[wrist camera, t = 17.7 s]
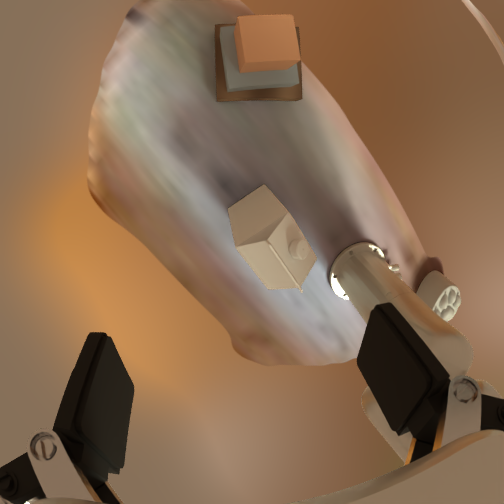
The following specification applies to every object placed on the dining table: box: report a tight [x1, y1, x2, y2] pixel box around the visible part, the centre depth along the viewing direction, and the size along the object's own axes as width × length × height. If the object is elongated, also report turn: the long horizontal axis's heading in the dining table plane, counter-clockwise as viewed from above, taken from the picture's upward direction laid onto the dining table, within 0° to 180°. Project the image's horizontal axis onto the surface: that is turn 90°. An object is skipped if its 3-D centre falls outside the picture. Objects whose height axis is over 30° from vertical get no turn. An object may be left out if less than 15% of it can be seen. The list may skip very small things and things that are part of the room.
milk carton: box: [228, 184, 317, 293], centre depth 37 cm, size 7×7×19 cm
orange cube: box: [234, 15, 301, 73], centre depth 25 cm, size 6×6×6 cm
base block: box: [215, 24, 302, 102], centre depth 33 cm, size 12×12×4 cm
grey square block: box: [220, 26, 299, 92], centre depth 30 cm, size 9×9×4 cm
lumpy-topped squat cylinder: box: [416, 270, 461, 322], centre depth 56 cm, size 10×13×9 cm
